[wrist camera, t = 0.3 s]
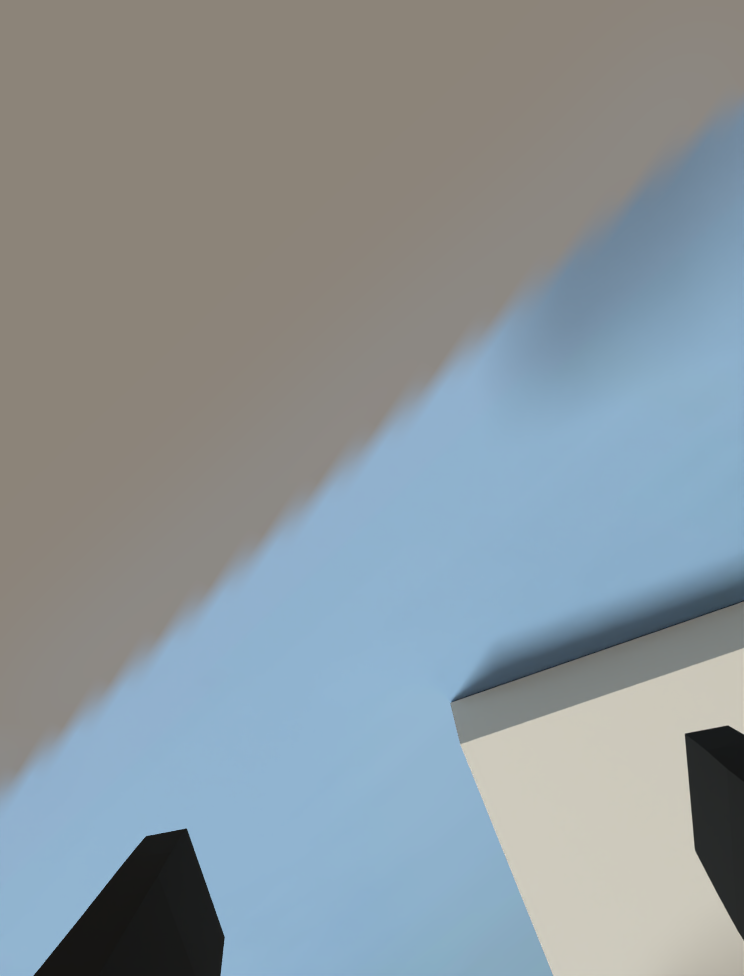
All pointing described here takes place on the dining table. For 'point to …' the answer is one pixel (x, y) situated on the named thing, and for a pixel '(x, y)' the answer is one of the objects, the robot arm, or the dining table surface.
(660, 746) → the white stand
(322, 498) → the dining table surface
